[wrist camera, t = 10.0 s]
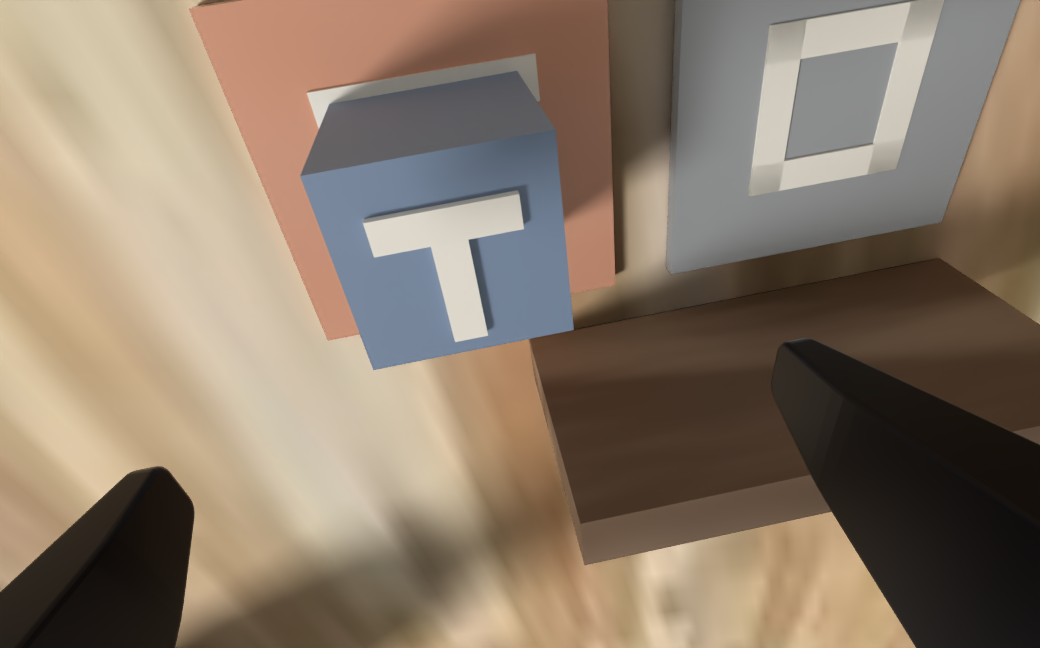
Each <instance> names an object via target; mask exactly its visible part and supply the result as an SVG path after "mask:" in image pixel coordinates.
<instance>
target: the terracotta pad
mask: <svg viewBox="0 0 1040 648" xmlns="http://www.w3.org/2000/svg"><path fill="white" fill-rule="evenodd" d="M189 10H190V13H191V15H192V18H193V20H194V22H195V25H196V27H197V30H198V32H199V34H200V37H201V39H202V41H203V44H204V46H205V49H206V51H207V53H208V56H209V58H210V61H211V63H212V65H213V68H214V70H215V72H216V75H217V77H218V80H219V82H220V84H221V87H222V89H223V92H224V94H225V96H226V99H227V101H228V103H229V106H230V108H231V111H232V113H233V115H234V118H235V120H236V123H237V125H238V127H239V130H240V132H241V135H242V137H243V139H244V142H245V144H246V146H247V149H248V151H249V154H250V156H251V158H252V161H253V163H254V166H255V168H256V170H257V173H258V175H259V177H260V180H261V182H262V185H263V187H264V189H265V192H266V194H267V197H268V199H269V201H270V204H271V206H272V208H273V211H274V213H275V216H276V218H277V220H278V223H279V225H280V228H281V230H282V232H283V235H284V237H285V239H286V242H287V244H288V247H289V249H290V251H291V254H292V256H293V259H294V261H295V263H296V266H297V268H298V270H299V273H300V275H301V278H302V280H303V282H304V285H305V287H306V290H307V292H308V294H309V297H310V299H311V301H312V304H313V306H314V309H315V311H316V313H317V316H318V318H319V321H320V323H321V325H322V328H323V330H324V332H325V335H326V337H327V340H333V339H338V338H343V337H349V336H354V335H359V334H360V333H359V330H358V328H357V325H356V322H355V320H354V317H353V314H352V312H351V309H350V307H349V304H348V301H347V299H346V296H345V293H344V291H343V288H342V285H341V283H340V280H339V278H338V275H337V272H336V270H335V267H334V264H333V262H332V259H331V256H330V254H329V251H328V249H327V246H326V243H325V241H324V238H323V235H322V233H321V230H320V227H319V225H318V222H317V220H316V217H315V214H314V212H313V209H312V206H311V204H310V201H309V198H308V196H307V193H306V191H305V188H304V185H303V183H302V180H301V177H300V175H301V172H302V170H303V167H304V165H305V162H306V160H307V158H308V155H309V153H310V150H311V148H312V145H313V143H314V140H315V138H316V135H317V133H318V130H319V128H320V125H321V123H322V121H323V118H324V116H325V113H326V111H327V108H328V106H329V104H332V103H338V102H343V101H349V100H355V99H360V98H366V97H372V96H377V95H383V94H389V93H394V92H400V91H405V90H411V89H417V88H422V87H428V86H434V85H439V84H445V83H451V82H456V81H462V80H468V79H473V78H479V77H485V76H490V75H496V74H501V73H507V72H513V71H518V73H519V74H520V76H521V77H522V79H523V81H524V82H525V84H526V85H527V87H528V88H529V90H530V91H531V93H532V94H533V96H534V97H535V99H536V100H537V102H538V103H539V105H540V106H541V108H542V109H543V111H544V112H545V114H546V116H547V117H548V119H549V120H550V122H551V123H552V125H553V126H554V128H555V129H556V140H557V151H558V162H559V173H560V184H561V195H562V206H563V217H564V228H565V239H566V250H567V261H568V272H569V283H570V294H572V293H577V292H582V291H588V290H593V289H598V288H603V287H608V286H614V285H615V255H614V218H613V182H612V145H611V108H610V72H609V35H608V0H230V1H224V2H217V3H211V4H205V5H199V6H194V7H192V8H190V9H189Z"/></svg>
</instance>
